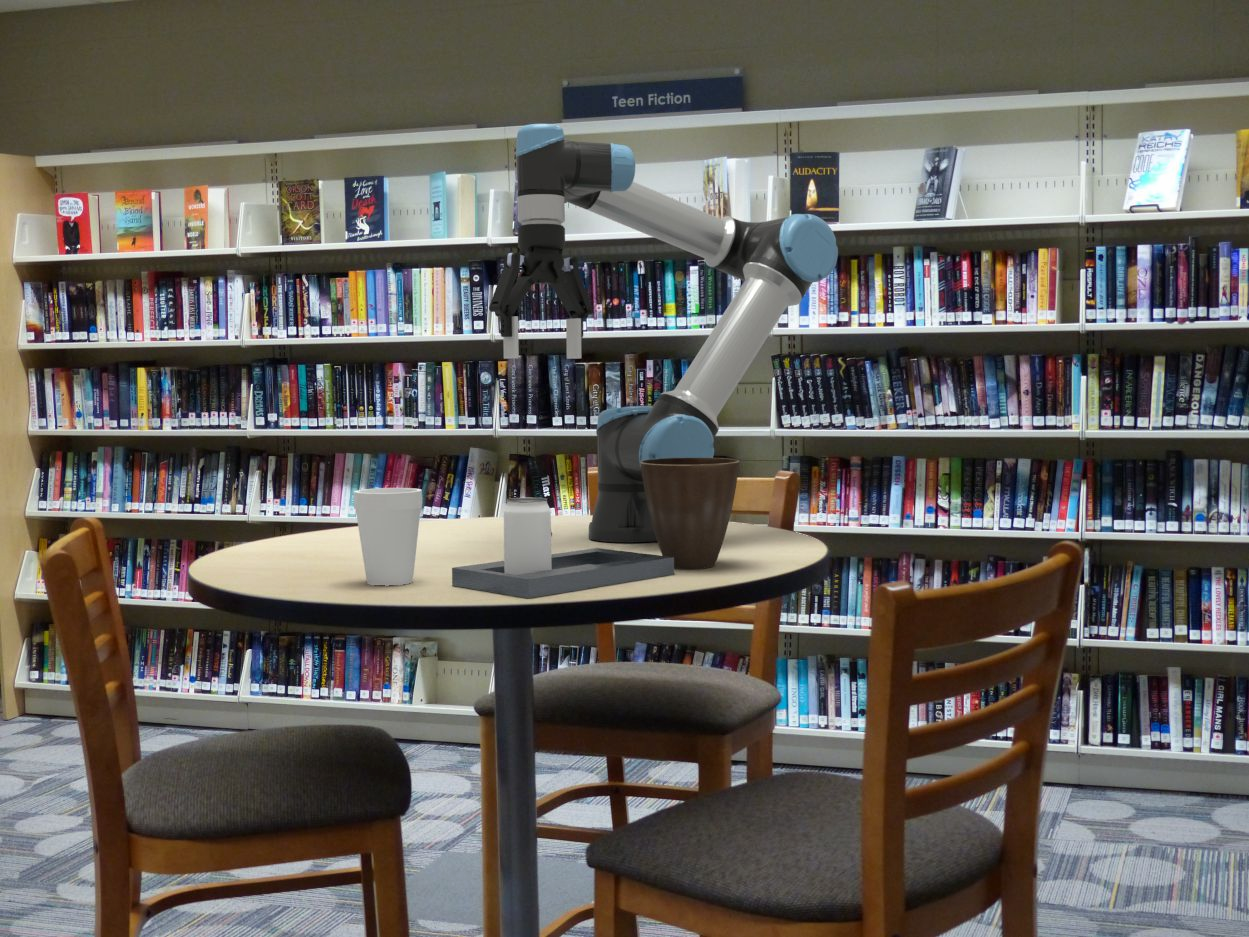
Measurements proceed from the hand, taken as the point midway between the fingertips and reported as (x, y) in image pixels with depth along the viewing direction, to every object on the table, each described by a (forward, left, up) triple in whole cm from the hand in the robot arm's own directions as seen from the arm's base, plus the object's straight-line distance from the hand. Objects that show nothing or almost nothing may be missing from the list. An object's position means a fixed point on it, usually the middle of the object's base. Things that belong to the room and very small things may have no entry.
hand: (543, 358), depth 212 cm
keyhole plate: (+16, +22, -32) cm, 42 cm away
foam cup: (+34, +5, -32) cm, 47 cm away
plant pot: (-6, +26, -32) cm, 41 cm away
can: (+23, +22, -32) cm, 45 cm away
